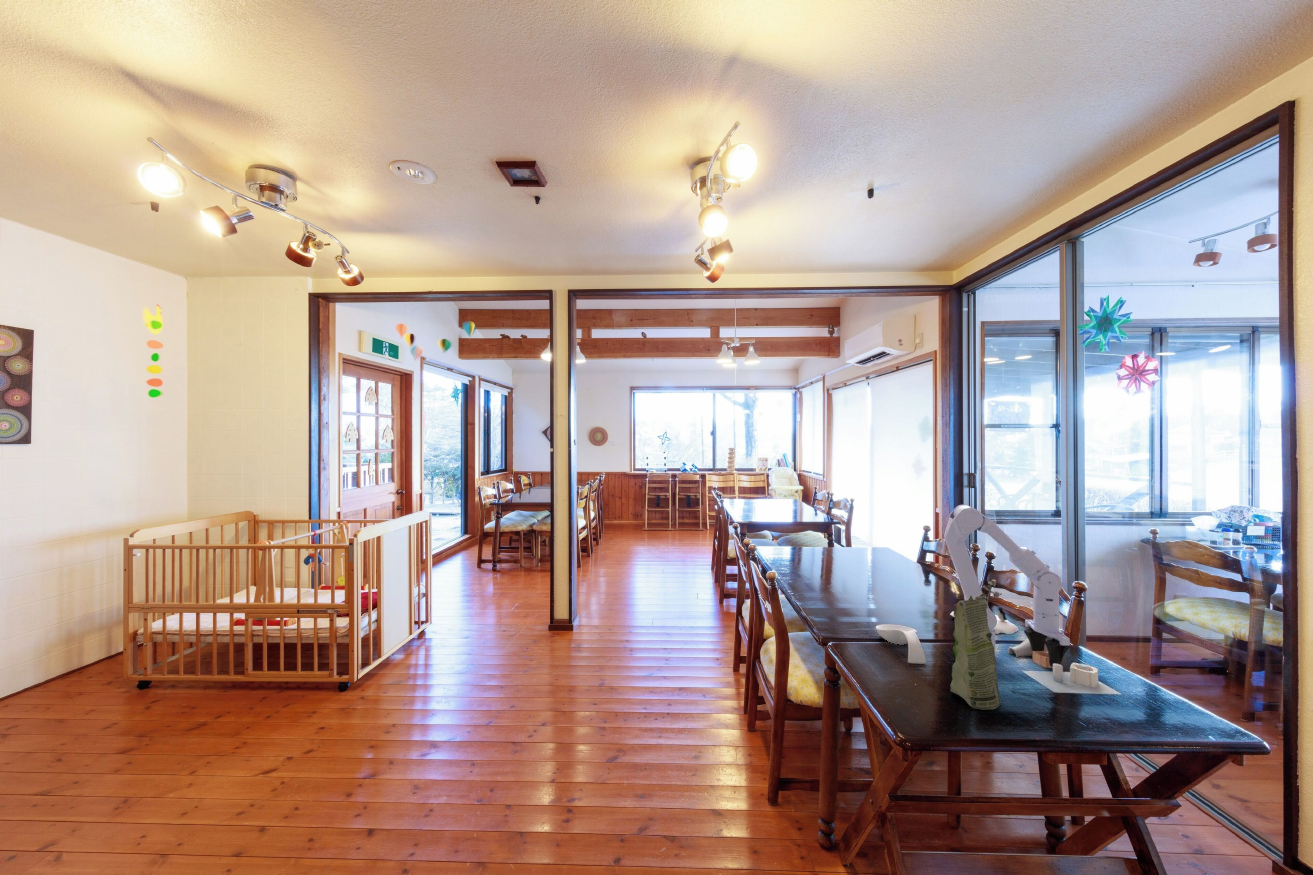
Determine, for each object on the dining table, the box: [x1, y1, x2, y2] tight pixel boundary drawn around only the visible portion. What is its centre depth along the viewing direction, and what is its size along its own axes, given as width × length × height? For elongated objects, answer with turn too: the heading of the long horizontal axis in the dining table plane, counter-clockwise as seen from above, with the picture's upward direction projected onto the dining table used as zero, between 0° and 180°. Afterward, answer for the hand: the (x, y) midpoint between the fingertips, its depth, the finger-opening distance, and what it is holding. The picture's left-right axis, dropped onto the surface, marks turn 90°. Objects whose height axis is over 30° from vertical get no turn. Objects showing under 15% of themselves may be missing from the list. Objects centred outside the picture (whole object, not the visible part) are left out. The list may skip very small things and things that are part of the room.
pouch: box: [950, 592, 1002, 711], centre depth 122 cm, size 11×12×25 cm
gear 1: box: [1032, 651, 1053, 669], centre depth 140 cm, size 5×5×4 cm
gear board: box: [1022, 663, 1123, 695], centre depth 129 cm, size 16×12×5 cm
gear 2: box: [1069, 662, 1099, 687], centre depth 130 cm, size 5×5×4 cm
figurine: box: [949, 579, 1019, 635], centre depth 175 cm, size 20×18×16 cm
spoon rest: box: [875, 623, 927, 665], centre depth 154 cm, size 24×12×7 cm, turn 173°
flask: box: [1007, 637, 1048, 658], centre depth 147 cm, size 7×7×10 cm
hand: (1046, 661), depth 140 cm, fingers open, 6 cm apart
